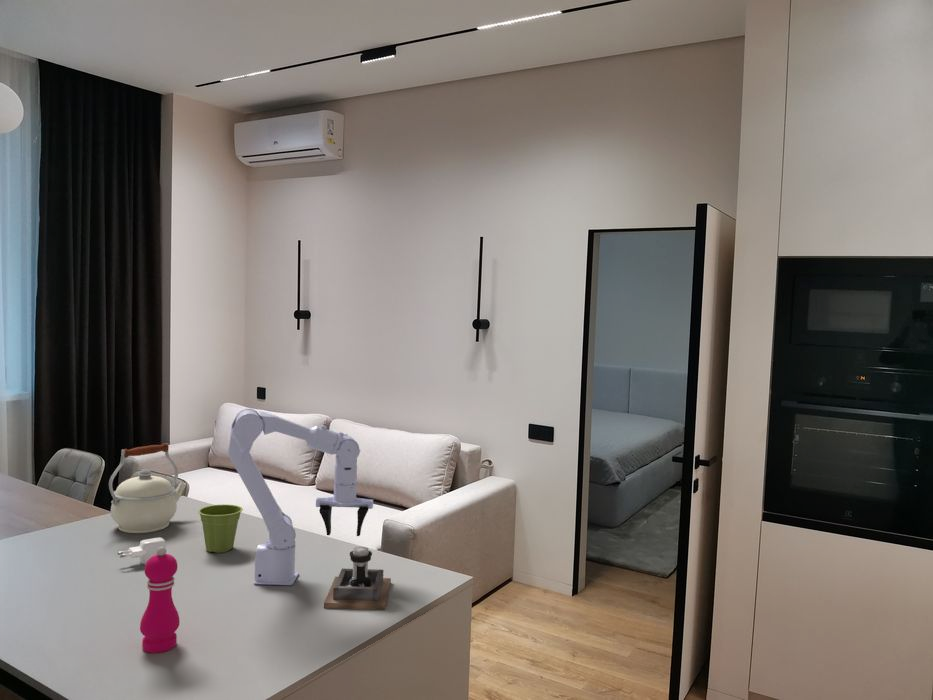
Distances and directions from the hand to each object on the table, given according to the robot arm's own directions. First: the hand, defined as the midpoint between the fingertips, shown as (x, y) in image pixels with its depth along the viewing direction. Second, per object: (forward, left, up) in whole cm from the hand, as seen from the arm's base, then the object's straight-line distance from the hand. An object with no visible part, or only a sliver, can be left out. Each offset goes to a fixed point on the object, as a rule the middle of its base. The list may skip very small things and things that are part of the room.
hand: (343, 534), depth 179 cm
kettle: (-65, +35, -11) cm, 75 cm away
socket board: (+6, -13, -10) cm, 18 cm away
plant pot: (-37, +16, -11) cm, 42 cm away
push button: (+6, -13, -9) cm, 17 cm away
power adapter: (-53, +3, -11) cm, 54 cm away
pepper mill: (-30, -41, -11) cm, 52 cm away
